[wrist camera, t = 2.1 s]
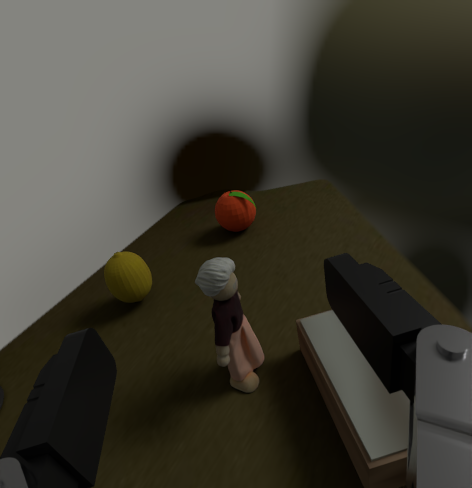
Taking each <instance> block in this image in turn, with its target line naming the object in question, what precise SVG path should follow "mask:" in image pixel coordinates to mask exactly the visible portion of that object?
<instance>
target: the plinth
mask: <svg viewBox="0 0 472 488" xmlns="http://www.w3.org/2000/svg"><path fill="white" fill-rule="evenodd" d="M296 325H297V331H298V337H299V344H300V350H301V352H302V354H303V356H304V358H305V360H306V363H307V365H308V367H309V369H310V371H311V373H312V376H313V378H314V380H315V382H316V384H317V386H318V389H319V391H320V393H321V395H322V397H323V400H324V402H325V404H326V406H327V408H328V410H329V413H330V415H331V417H332V419H333V421H334V423H335V426H336V428H337V430H338V432H339V434H340V437H341V439H342V441H343V443H344V445H345V447H346V450H347V452H348V454H349V456H350V458H351V460H352V463H353V465H354V467H355V469H356V471H357V473H358V476H359V478H360V480H361V482H362V484H363V487H364V488H399V487H402V486H405V485H406V474H407V447H408V418H409V399H408V397H407V396H406V395H405V393H404V392H403V390H401V391H398V392H394V393H391V394H389V392H388V391H387V389H386V388H385V387H384V385H383V384H382V382H381V381H380V379H379V378H378V376H377V375H376V373H375V372H374V370H373V369H372V367H371V366H370V364H369V363H368V362H367V360H366V359H365V357H364V356H363V354H362V353H361V351H360V350H359V348H358V347H357V345H356V344H355V342H354V341H353V340H352V338H351V337H350V335H349V334H348V332H347V331H346V329H345V328H344V326H343V325H342V323H341V322H340V320H339V319H338V317H337V316H336V315H335V313H334V312H333V310H329V311H325V312H322V313H319V314H315V315H312V316H308V317H305V318H302V319H298V320H296Z"/></svg>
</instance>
